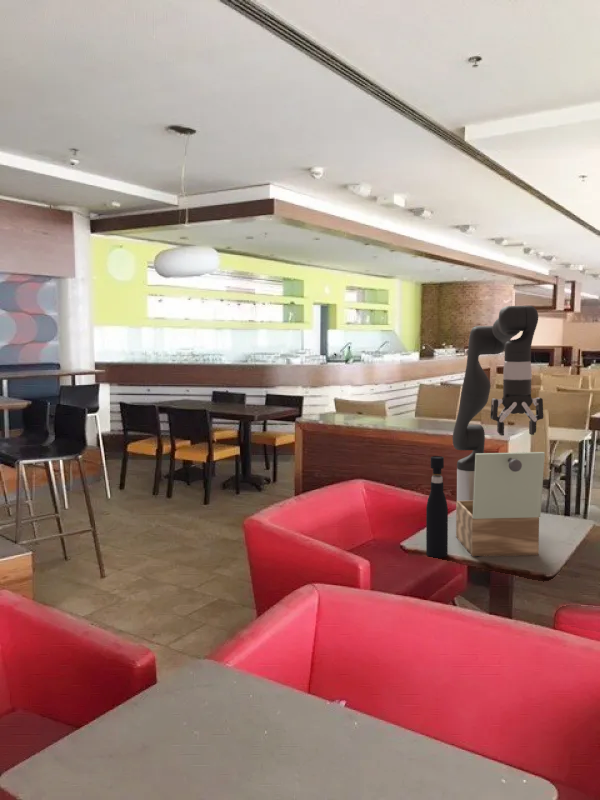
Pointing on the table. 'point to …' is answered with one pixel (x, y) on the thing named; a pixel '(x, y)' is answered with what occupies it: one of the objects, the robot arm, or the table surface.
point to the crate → (496, 533)
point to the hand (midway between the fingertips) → (516, 434)
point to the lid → (508, 485)
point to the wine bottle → (437, 513)
